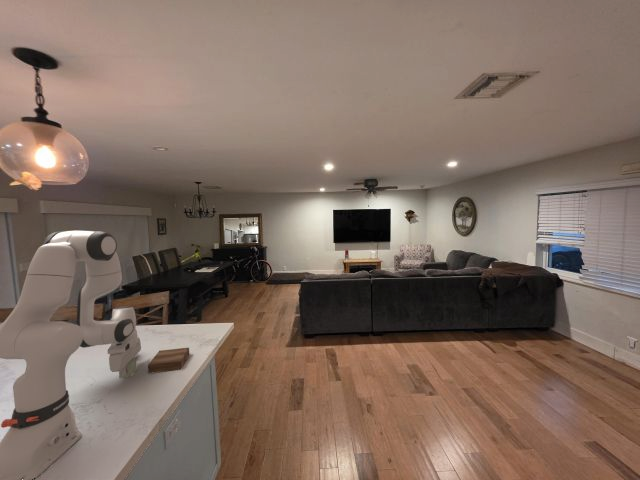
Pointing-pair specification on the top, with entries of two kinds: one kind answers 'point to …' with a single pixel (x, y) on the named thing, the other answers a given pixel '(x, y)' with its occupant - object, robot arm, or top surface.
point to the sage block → (130, 369)
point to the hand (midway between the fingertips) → (128, 370)
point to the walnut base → (168, 360)
